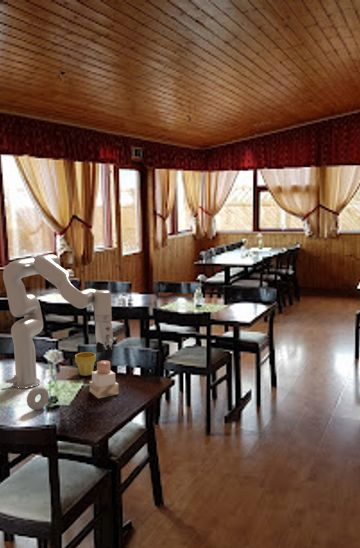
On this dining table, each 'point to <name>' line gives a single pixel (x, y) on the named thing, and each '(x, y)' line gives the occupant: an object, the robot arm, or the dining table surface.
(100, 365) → the terracotta cylinder
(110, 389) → the tower base block
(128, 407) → the dining table surface
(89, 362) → the plant pot
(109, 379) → the tower top block
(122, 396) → the dining table surface
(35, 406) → the donut
